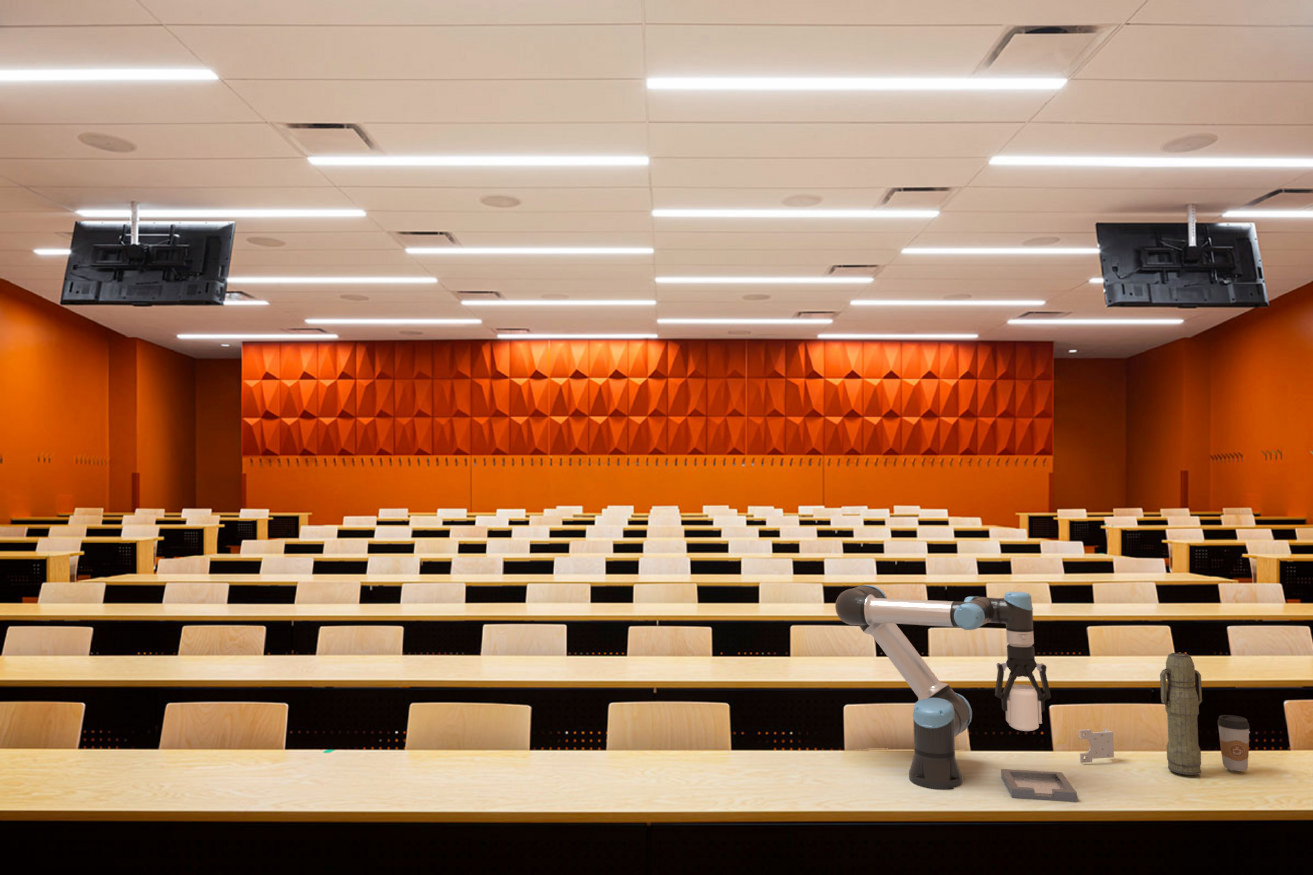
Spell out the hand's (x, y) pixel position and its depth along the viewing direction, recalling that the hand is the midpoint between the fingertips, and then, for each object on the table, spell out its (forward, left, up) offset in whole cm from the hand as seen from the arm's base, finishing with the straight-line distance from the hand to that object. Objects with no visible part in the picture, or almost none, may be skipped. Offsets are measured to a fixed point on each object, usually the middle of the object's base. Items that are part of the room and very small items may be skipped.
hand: (1023, 721), depth 256 cm
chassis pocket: (+2, -6, -17) cm, 18 cm away
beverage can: (0, 0, -2) cm, 2 cm away
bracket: (+25, +25, -18) cm, 40 cm away
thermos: (+49, +19, -18) cm, 56 cm away
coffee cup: (+65, +24, -18) cm, 72 cm away
